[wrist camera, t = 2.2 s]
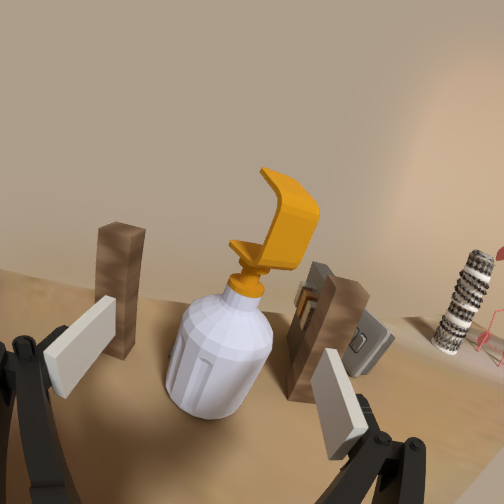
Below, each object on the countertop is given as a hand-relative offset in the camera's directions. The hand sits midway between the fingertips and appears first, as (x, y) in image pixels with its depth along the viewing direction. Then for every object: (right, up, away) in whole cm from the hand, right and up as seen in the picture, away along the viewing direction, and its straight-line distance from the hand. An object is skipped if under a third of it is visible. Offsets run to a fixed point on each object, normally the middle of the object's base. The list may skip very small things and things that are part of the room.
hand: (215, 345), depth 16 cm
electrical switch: (+19, -13, +27) cm, 36 cm away
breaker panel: (+9, -11, +25) cm, 29 cm away
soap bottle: (-3, -11, +13) cm, 17 cm away
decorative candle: (+50, -18, +38) cm, 66 cm away
